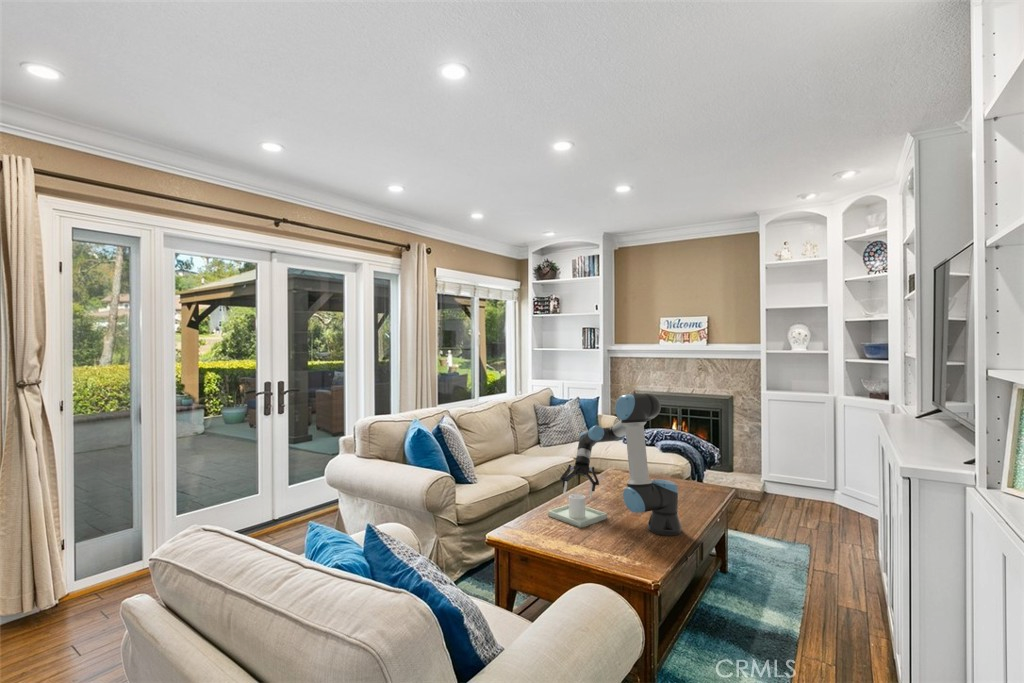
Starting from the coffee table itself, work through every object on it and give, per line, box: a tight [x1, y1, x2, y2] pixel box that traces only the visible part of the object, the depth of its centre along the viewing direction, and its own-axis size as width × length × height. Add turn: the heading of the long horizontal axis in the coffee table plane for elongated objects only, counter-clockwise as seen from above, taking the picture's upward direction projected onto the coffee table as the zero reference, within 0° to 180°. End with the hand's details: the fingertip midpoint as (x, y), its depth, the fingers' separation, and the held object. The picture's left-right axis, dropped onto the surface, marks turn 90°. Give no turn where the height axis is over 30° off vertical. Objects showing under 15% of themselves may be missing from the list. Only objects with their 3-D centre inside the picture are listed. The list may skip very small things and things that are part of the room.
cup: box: [568, 493, 586, 519], centre depth 257 cm, size 8×12×10 cm
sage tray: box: [547, 503, 608, 529], centre depth 257 cm, size 22×20×2 cm
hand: (577, 495), depth 259 cm, fingers open, 13 cm apart
